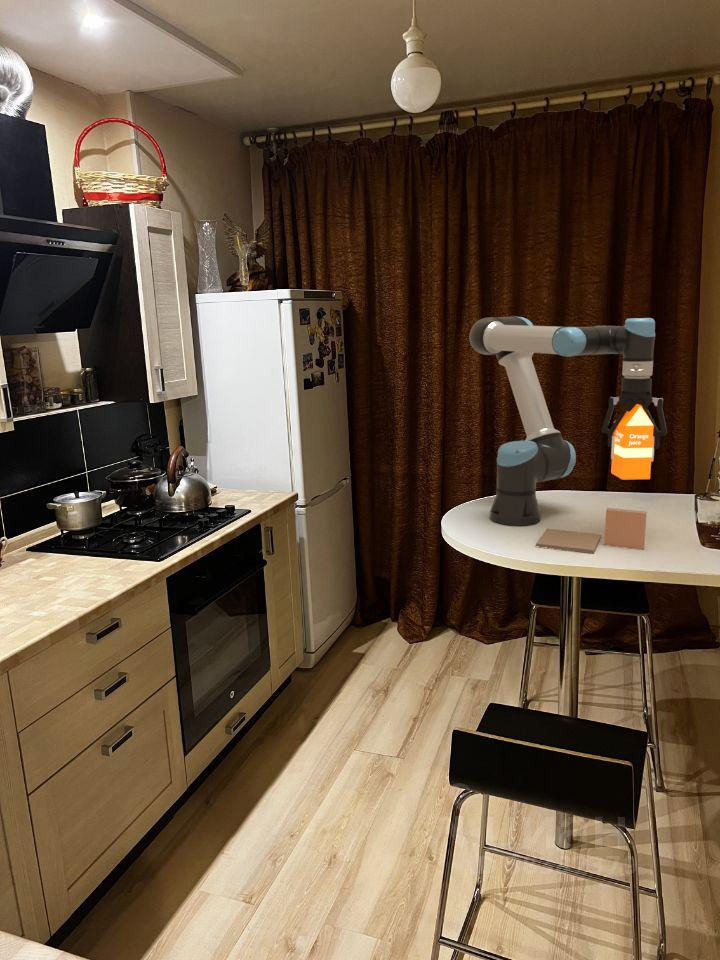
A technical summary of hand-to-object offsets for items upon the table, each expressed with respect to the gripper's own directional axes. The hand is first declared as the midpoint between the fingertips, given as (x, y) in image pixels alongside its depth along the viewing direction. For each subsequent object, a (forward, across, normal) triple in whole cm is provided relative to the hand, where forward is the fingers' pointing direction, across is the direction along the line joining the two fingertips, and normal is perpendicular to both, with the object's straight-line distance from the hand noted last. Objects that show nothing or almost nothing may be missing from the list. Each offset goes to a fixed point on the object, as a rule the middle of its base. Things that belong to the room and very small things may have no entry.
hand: (632, 459), depth 200 cm
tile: (+17, 0, -10) cm, 20 cm away
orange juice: (+5, 0, 0) cm, 5 cm away
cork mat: (+22, -14, -12) cm, 28 cm away
